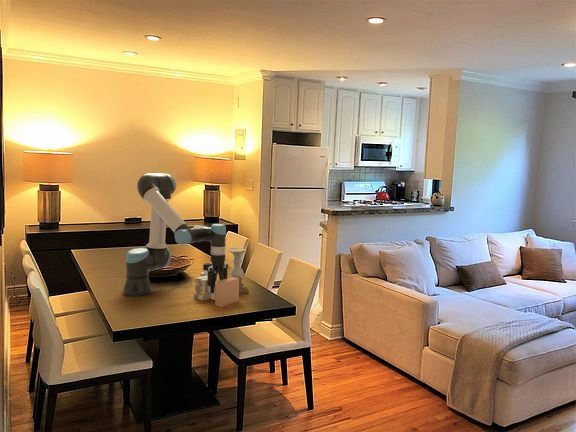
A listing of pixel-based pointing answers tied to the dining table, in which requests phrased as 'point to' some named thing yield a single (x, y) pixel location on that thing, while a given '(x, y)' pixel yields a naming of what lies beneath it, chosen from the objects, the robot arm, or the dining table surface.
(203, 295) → the white blocky piece
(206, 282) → the slip bar
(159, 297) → the dining table surface
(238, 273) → the candle holder
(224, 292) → the socket block
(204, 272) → the container
